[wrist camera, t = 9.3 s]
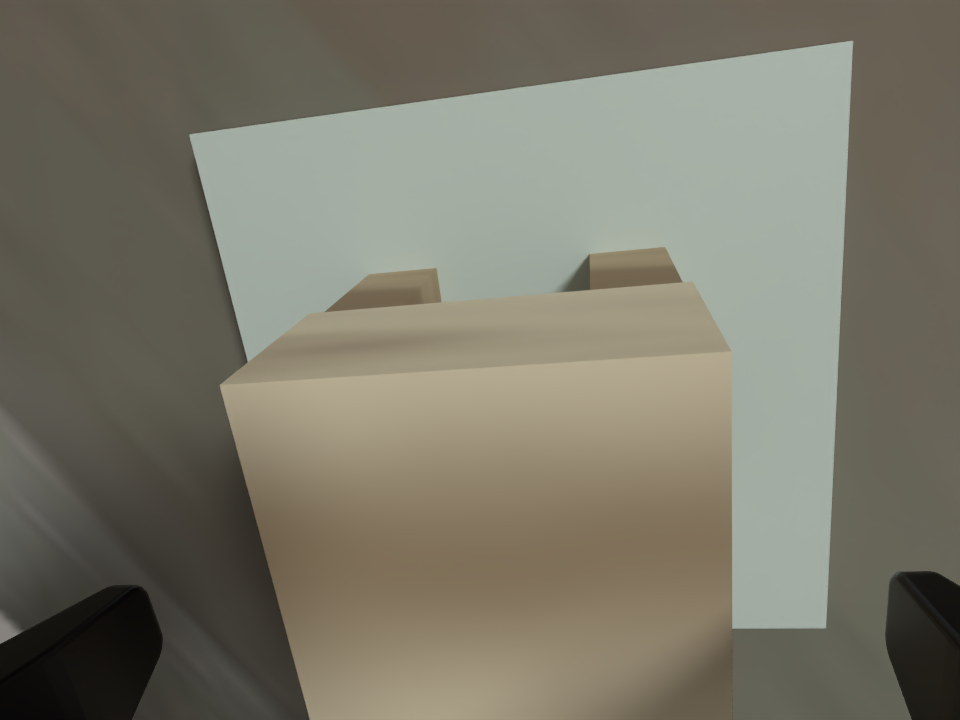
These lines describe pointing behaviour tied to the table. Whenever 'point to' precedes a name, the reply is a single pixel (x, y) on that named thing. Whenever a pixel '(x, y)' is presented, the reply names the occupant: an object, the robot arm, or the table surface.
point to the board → (592, 243)
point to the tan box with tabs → (499, 499)
